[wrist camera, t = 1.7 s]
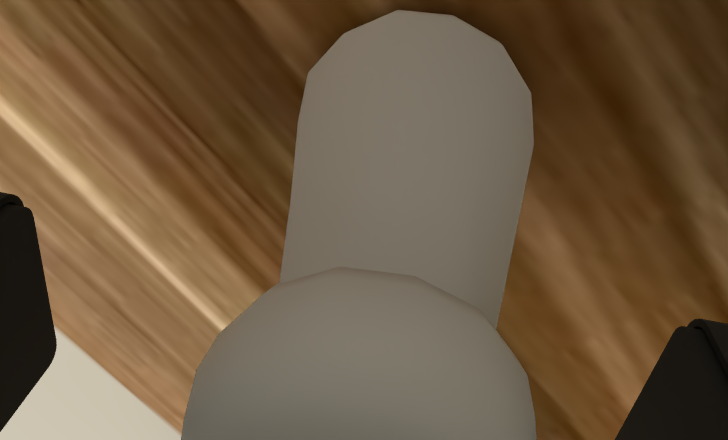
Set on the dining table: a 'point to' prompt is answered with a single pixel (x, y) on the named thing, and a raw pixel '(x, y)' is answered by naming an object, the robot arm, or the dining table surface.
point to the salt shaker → (388, 252)
